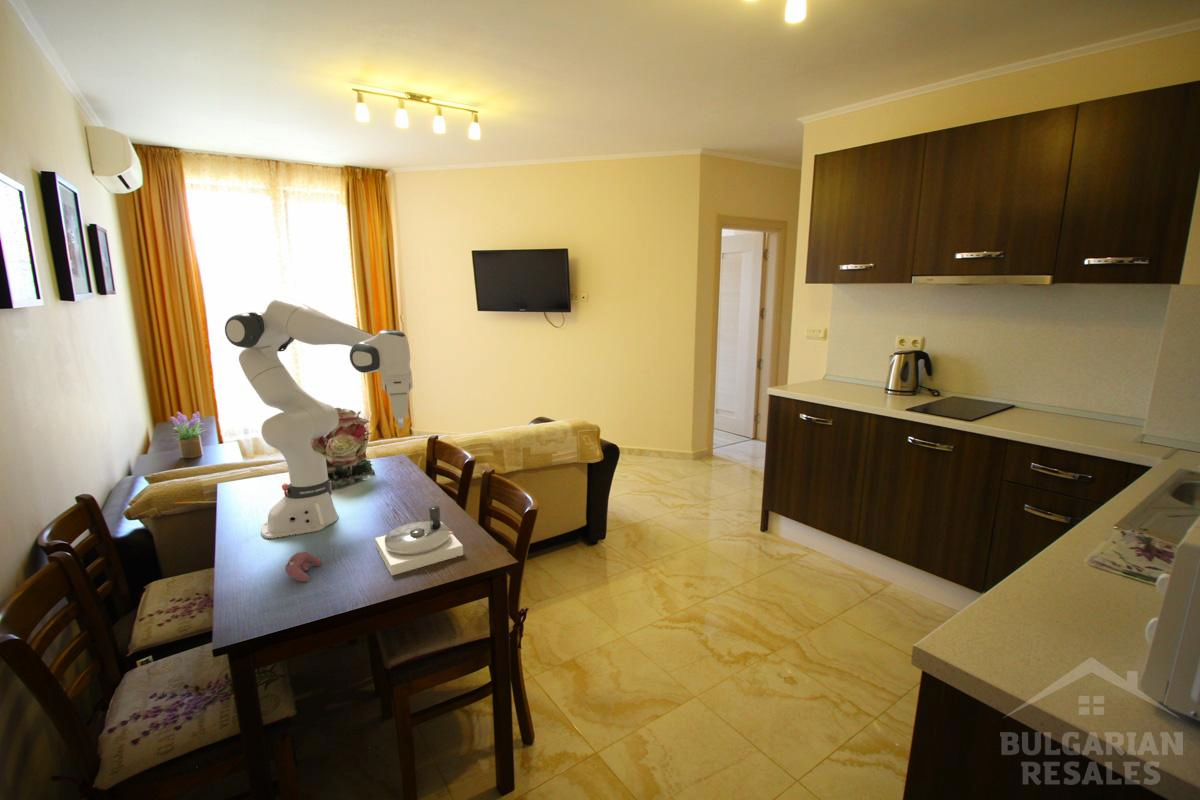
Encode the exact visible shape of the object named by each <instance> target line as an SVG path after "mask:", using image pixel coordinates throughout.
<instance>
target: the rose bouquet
mask: <svg viewBox="0 0 1200 800" xmlns="http://www.w3.org/2000/svg"><path fill="white" fill-rule="evenodd" d="M334 408H335V410H336V411H337V413H338V416H339V423H338V426H337V427H336V428H335V429H334V430H333V431H331V432H329V433H328V434H326V435H324V436H321V437H318V438H315V439H312V440H311V446H312V448H313V450H314V451H317V452H320V453H321V454H323V455H324V456H325V458H326V464H327V473H328V477H329V479H330V482H331V490H332V491H336V490H341V489H344V488H347V487H350V486H352V485H354V484H358V483H361V482H368V478H373V477H375V476H377V474H376V471H375V470H374V469H373V468H372V466H374V465H373V464H372V460H370V459H369V460H367V457H368V456H367V449H368V444H369V440H368V438H367V437H366V436H369V435H371V434H372V432H368V427H366V426H365V425H366V424H368V423H370V421H369V420H368V419H366V418H362V417H360V415H361V410H360V411H359V410H358V412H356V411H355V410H353V409H348V408H341V407H334ZM367 432H368V433H367Z"/></svg>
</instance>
